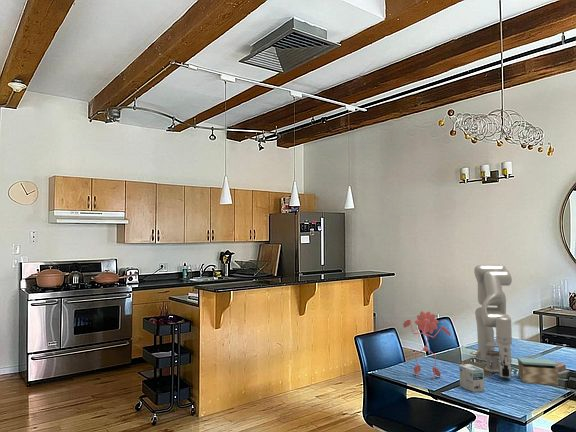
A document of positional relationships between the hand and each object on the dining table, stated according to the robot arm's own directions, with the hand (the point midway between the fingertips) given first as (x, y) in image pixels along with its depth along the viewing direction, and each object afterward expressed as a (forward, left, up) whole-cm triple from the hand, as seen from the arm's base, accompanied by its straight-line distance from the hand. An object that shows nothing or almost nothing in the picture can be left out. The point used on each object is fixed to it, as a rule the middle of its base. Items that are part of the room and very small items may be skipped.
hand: (504, 374), depth 242 cm
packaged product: (+26, +20, -3) cm, 33 cm away
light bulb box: (-18, -21, -3) cm, 28 cm away
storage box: (+16, +3, -2) cm, 17 cm away
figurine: (-39, -4, -3) cm, 39 cm away
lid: (+16, +3, +6) cm, 18 cm away
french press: (-4, +17, -3) cm, 18 cm away
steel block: (0, 0, -1) cm, 1 cm away
